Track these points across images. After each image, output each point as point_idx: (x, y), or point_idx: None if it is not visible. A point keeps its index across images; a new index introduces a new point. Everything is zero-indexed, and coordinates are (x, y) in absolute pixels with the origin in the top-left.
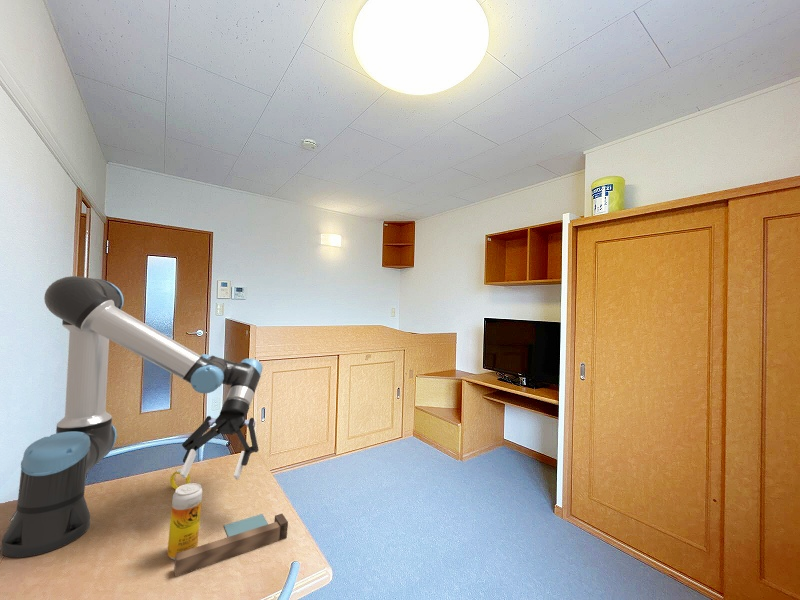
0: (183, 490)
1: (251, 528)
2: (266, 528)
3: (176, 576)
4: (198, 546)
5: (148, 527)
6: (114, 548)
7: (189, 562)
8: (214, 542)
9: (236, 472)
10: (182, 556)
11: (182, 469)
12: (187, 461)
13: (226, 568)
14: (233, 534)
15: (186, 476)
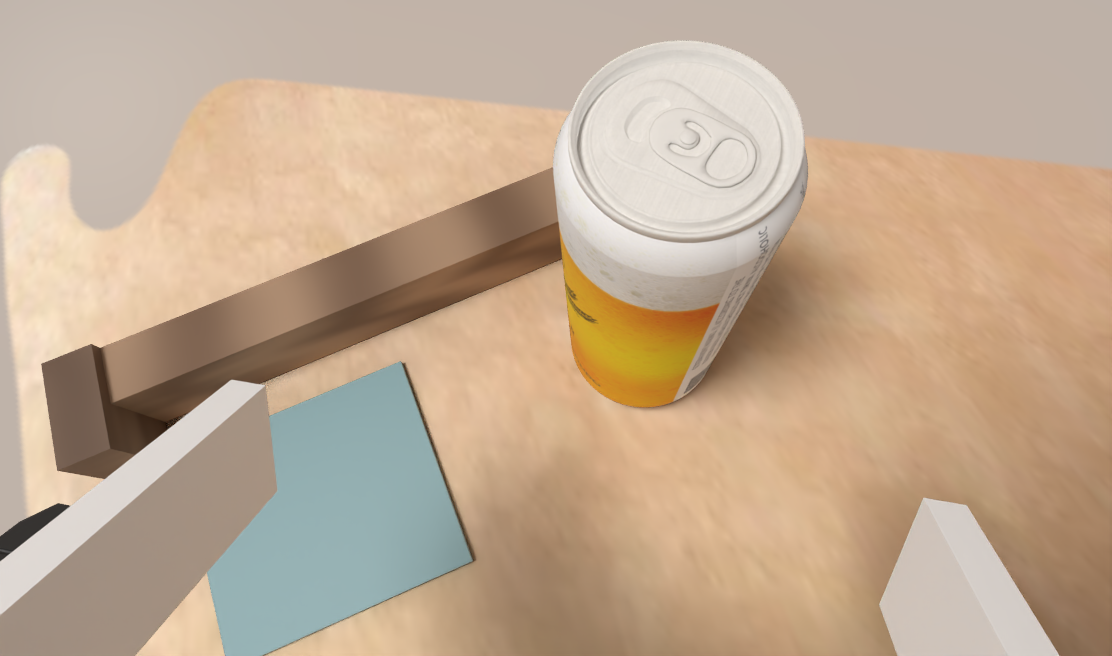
0: (721, 120)
1: (299, 494)
2: (181, 338)
3: None
4: (537, 230)
5: None
6: (1031, 427)
7: None
8: (461, 250)
9: (218, 400)
10: None
11: (985, 547)
12: (1022, 654)
13: (401, 212)
14: (399, 449)
15: (887, 606)
